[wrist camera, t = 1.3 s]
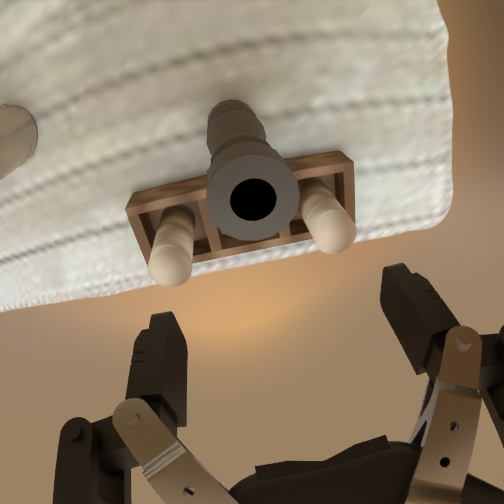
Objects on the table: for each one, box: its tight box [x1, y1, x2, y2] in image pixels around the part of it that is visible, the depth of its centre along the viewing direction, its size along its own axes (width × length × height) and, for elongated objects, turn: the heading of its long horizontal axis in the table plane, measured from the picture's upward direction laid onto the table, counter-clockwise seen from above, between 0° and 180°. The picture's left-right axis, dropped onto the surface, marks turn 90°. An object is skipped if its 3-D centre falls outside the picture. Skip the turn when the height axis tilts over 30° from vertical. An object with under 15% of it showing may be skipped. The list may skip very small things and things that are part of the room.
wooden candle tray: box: [125, 151, 357, 287], centre depth 41 cm, size 30×10×13 cm, turn 99°
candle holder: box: [206, 100, 300, 241], centre depth 30 cm, size 6×6×25 cm
